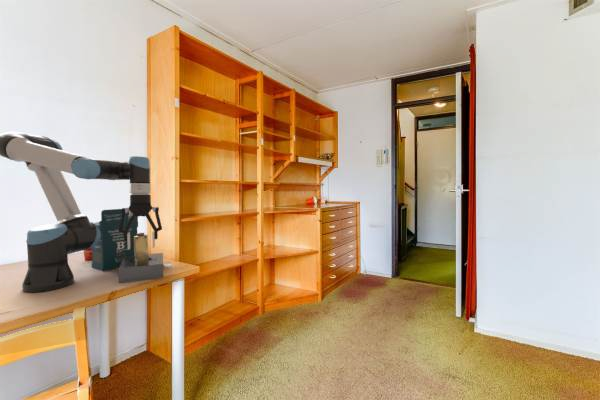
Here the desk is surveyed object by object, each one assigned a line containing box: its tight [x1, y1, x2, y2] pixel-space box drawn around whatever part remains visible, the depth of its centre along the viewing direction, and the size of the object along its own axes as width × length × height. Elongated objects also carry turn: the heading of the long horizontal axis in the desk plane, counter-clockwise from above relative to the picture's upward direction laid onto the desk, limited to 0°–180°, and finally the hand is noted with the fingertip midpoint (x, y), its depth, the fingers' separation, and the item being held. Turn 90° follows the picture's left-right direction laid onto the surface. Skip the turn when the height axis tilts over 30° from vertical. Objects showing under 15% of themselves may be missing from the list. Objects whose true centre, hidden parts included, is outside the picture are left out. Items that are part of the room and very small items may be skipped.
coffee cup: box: [83, 248, 92, 262], centre depth 153 cm, size 8×8×15 cm
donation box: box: [91, 208, 139, 272], centre depth 142 cm, size 16×16×28 cm
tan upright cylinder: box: [134, 232, 149, 266], centre depth 122 cm, size 5×5×13 cm
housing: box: [118, 252, 164, 284], centre depth 129 cm, size 16×22×6 cm
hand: (141, 247), depth 122 cm, fingers open, 8 cm apart
